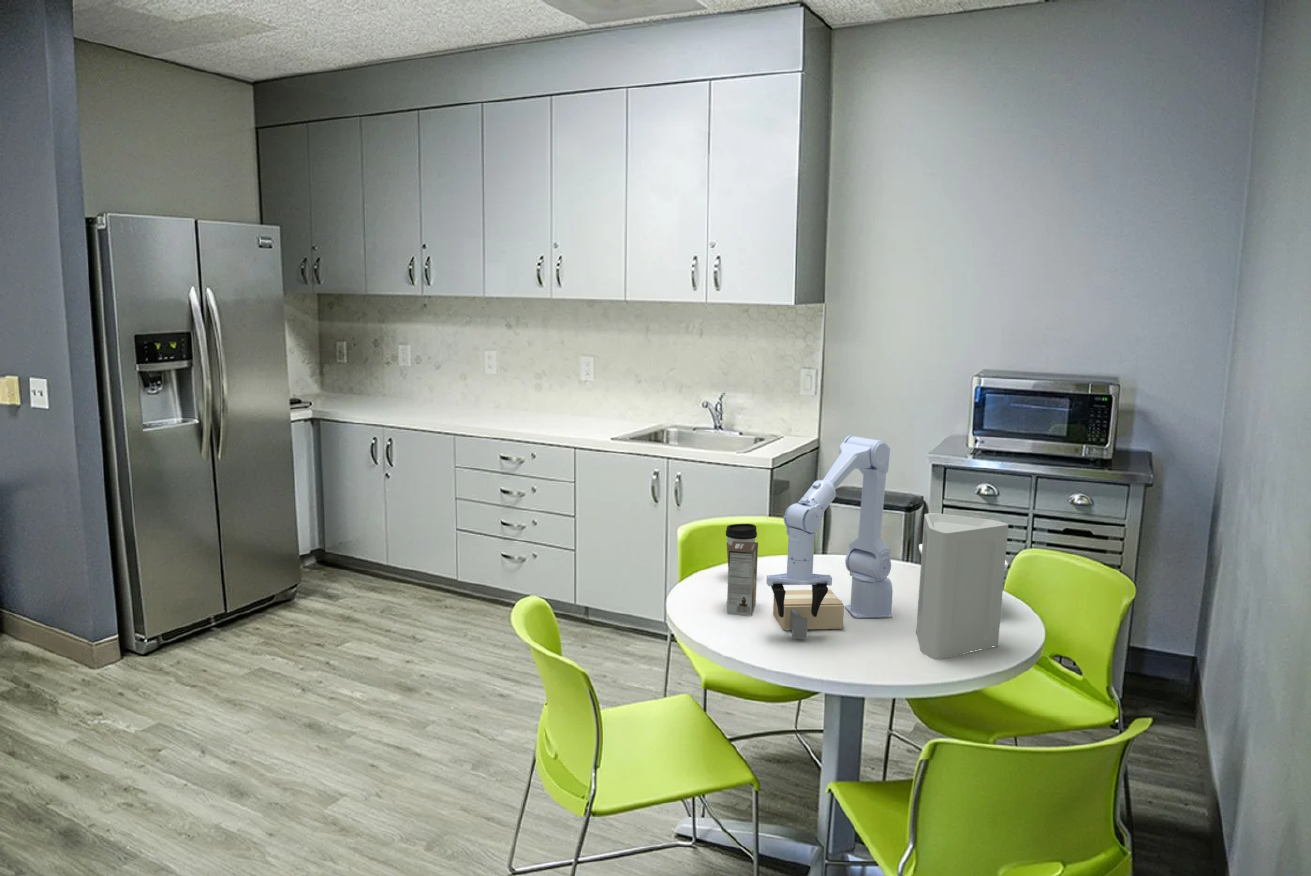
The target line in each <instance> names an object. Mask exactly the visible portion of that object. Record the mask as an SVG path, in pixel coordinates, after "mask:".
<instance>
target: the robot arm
mask: <svg viewBox="0 0 1311 876" xmlns="http://www.w3.org/2000/svg"><path fill="white" fill-rule="evenodd" d="M838 449H839V450H838V451H839V452H838V453H839V456H838V457H837V458H836V459H835V461H834V463H833V464H832V466H831V467H830V468H829V470H828V472H827V473H826V475H825V476H824V478H823V479H818V480H815V481H814V482H813V483H812V485H811V486H810V487H809V488H808V490H807V491H806V492H805V493H804V494H803V496H802V497H801V498H800V500H799V501H798V502H795V503H792V504H791V505H789V506H788V507H787V508H786V510H785V513H784V516H783V523H784V525H785V528H786V535H787V536H788V539H787V541H788V542H787V559H786V561H787V562H786V563H787V566H786V573H780V574H769V575H768V574H767V575H766V585H767V587H770V588H771V590H772V593H773V597H774V596H775V599H776V602H777V607H778V615H779V616H780V617H783V616H784V598H785V593H786V591H785V590H786V589H785V586H811V590H812V608H811V614H812V615H813V616H814V617H817V613H818V610H819V607H820V604H821V602H822V600H823V598H824V597H825V595H826V594H827V592H828V590H829V587H830V586H832V584H833V583H832V582H833V577H832V575H830V574H819V573H813V572H814V554H815V553H814V552H815V537H816V536H815V535H816V534H815V533H816V532H817V531H818V529H819V528H820V527H821V523H822V519H823V517H824V515H825V513H824V512H825V511H826V510H827V508H828V507H829V506H830V504H831V503H832V502H833V501H834V500H835V498H836V497H837V492H836V490H837V488H838V487H839V486H840V485H841V484H842V483H843V482H844V481H845V479H847V477H848V476H849V475H850V474H851V473H852V472H853V471H854V470H855V469H858V470H859V471H860V473H862V487H861V499H860V511H859V512H860V513H859V525H858V535H857V538H856V539H854V540H852V541H850V543H849V545H848V551H847V553H846V557H845V560H844V561H845V568H846V570H847V571H848V572H849V576H850V577H851V588H850V589H851V593H850V604H845V605H844V609H846V610H847V611H848V612H849V614H850V615H852V617H853V618H855V619H865V618H866V619H868V618H871V619H873V618H876V619H877V618H893V615H892V607H893V606H892V605H893V593H894V592H893V584H892V581H891V579H890V578H889V575H890V573H891V569H892V561H891V558H890V557H891V556H890V555H891V554H890V553H891V550H890V548H889V547H888V546H887V545H886V544H885V543H884V541H882V539H881V537H882V527H883V526H882V525H883V514H884V504H885V492H886V480H887V479H886V478H887V473H888V472H889V467H890V466H889V463H890V457H891V455H890V453H891V448H890V446H889V445H888V444H887V443H886V441H884V440H882V439H872V438H866V437H860V436H855V435H852V434H850V435H848V436H846V437H845V438H844V440H843V442H842V443H841V444H840V445H839V448H838ZM828 586H829V587H828Z"/></svg>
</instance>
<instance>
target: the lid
mask: <svg viewBox="0 0 1311 876" xmlns="http://www.w3.org/2000/svg"><path fill="white" fill-rule="evenodd" d="M811 608H812V605H811V606H784V624H783V629H782V630H791V637H792V639H793V640H794V639H807V637H808V630H830V629H831V630H835V629H837V630H838V629H844V615H845V614H844V613H845V605H844V604H843V605H820V607H819V610H818V613H817V617H814V616H813V615H812V614H811Z"/></svg>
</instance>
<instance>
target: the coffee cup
mask: <svg viewBox="0 0 1311 876" xmlns="http://www.w3.org/2000/svg"><path fill="white" fill-rule="evenodd" d="M757 531H758V530H757V525H755V524H753V523H735V524H733V523H732V524H729V525H727V526H726V530H725V536H726V540H727V541H726V553H727V556H726V557H727V562H728V561H729V549H730V547H731V545H732V543H733V541H742V542H756V538H757V537H758V533H757Z"/></svg>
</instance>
